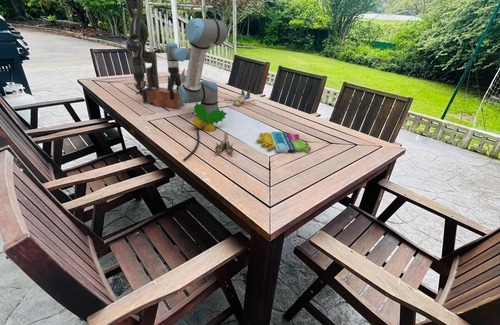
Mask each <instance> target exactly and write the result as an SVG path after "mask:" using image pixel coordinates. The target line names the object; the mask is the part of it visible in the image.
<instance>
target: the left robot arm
mask: <svg viewBox="0 0 500 325" xmlns="http://www.w3.org/2000/svg"><path fill="white" fill-rule="evenodd" d="M124 2H125V6H126V9H127V11H128V14H129V16H130V20H131V21H130V23H129V27H128V34H129V35H128V38H127V41H126V46H125V47H126V50H127V51H128V52H129V53H137V54H136V55H132V56H131V58H130V60H131V66H132V67H131V68H132V75H133V79H134V80H135V83H133V86H134V87H135V89H136V90H138V92H140V93H141V94H142V90H144V89H146V86H147V88H150V91H151V89H156V88H159V87H160V83H159V73H158V57H157V53H156V52H155V51H150V50H147V49H146V48H147V47H146V45H147V42H148V40H149V38H150V37H149V36H150V34H149V31H148V27H147V24H145V22H144V21H143V20H142V16H143V12H144V11H143V9H144V0H124ZM143 63H144V64H151V65H150V66H149V67H148V66H147V67H146V68H145V70H144V65H143ZM145 74H146V78H145ZM145 79H146V80H145ZM141 94H139V95H140V96H142V95H141Z"/></svg>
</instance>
